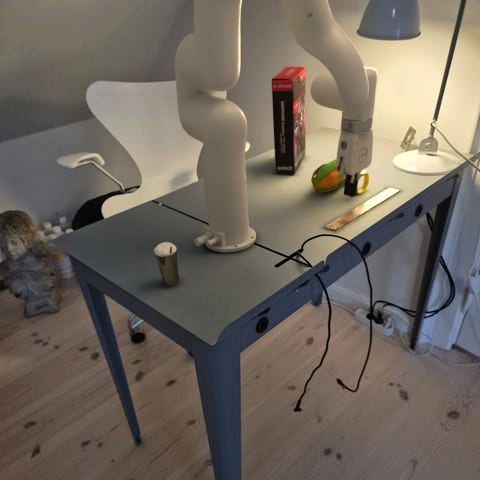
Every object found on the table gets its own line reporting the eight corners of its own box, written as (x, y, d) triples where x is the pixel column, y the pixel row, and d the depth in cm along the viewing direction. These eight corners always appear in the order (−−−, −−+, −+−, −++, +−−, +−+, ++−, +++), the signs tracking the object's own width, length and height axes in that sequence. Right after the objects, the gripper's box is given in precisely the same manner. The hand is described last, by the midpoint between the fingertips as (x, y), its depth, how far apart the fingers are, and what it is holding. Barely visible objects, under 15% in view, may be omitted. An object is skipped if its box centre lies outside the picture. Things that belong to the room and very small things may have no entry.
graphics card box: (294, 175, 139) (295, 77, 122) (273, 174, 141) (270, 78, 124) (305, 157, 152) (307, 65, 135) (285, 156, 154) (285, 66, 137)
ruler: (335, 231, 109) (335, 230, 109) (324, 227, 111) (324, 226, 111) (399, 191, 125) (399, 190, 125) (389, 188, 127) (389, 187, 127)
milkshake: (169, 292, 94) (160, 250, 87) (157, 282, 97) (148, 240, 91) (188, 284, 95) (181, 242, 89) (175, 274, 99) (168, 233, 93)
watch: (361, 187, 129) (363, 167, 125) (370, 190, 127) (372, 169, 123) (349, 194, 125) (351, 173, 122) (357, 197, 124) (360, 175, 120)
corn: (305, 167, 123) (344, 146, 134) (302, 193, 128) (340, 171, 139) (328, 174, 119) (366, 152, 130) (324, 201, 124) (362, 177, 135)
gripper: (351, 134, 105) (345, 207, 117) (386, 119, 113) (377, 189, 125) (325, 129, 110) (322, 200, 121) (360, 115, 118) (354, 183, 129)
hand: (349, 194), depth 123 cm, fingers closed
